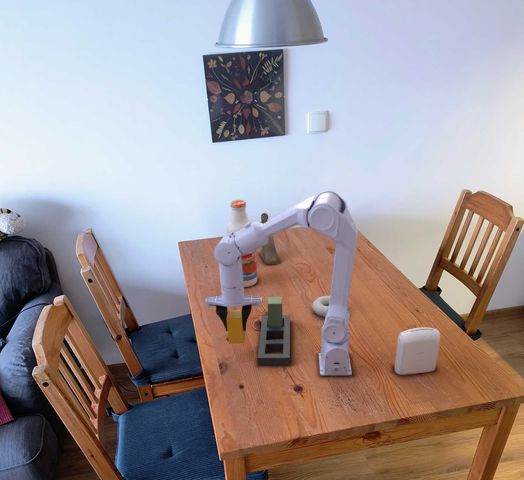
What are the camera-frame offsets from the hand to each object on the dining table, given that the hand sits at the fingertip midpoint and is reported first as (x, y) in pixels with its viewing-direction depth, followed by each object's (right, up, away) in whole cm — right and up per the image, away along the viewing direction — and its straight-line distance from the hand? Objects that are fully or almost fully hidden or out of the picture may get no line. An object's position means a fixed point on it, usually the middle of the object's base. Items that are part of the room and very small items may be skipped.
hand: (236, 329), depth 128 cm
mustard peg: (0, -3, +2) cm, 3 cm away
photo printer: (+46, -11, -5) cm, 47 cm away
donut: (+28, +6, +21) cm, 35 cm away
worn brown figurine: (+10, +29, +55) cm, 63 cm away
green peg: (+11, 0, +13) cm, 17 cm away
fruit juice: (+1, +18, +40) cm, 44 cm away
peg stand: (+11, -3, +8) cm, 14 cm away
